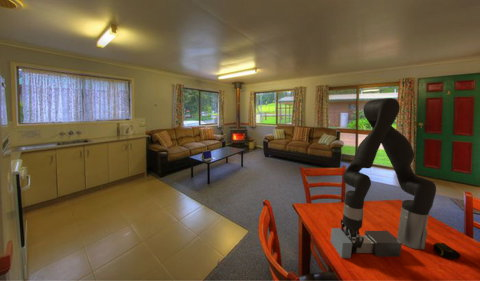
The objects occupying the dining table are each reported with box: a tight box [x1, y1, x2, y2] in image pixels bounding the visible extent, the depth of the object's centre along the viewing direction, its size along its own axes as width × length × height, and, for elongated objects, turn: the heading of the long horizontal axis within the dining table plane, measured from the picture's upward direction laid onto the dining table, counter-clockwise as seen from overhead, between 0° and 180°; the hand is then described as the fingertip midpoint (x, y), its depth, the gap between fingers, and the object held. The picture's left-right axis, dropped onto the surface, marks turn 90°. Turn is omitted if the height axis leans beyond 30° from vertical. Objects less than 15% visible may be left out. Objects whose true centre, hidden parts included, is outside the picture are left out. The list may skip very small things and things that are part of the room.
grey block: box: [330, 227, 352, 259], centre depth 82 cm, size 4×10×7 cm, turn 178°
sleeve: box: [364, 230, 403, 258], centre depth 82 cm, size 10×8×7 cm
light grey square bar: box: [346, 234, 375, 254], centre depth 82 cm, size 17×6×6 cm, turn 89°
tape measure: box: [432, 242, 461, 260], centre depth 79 cm, size 7×7×4 cm
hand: (349, 247), depth 83 cm, fingers closed on light grey square bar, 5 cm apart
